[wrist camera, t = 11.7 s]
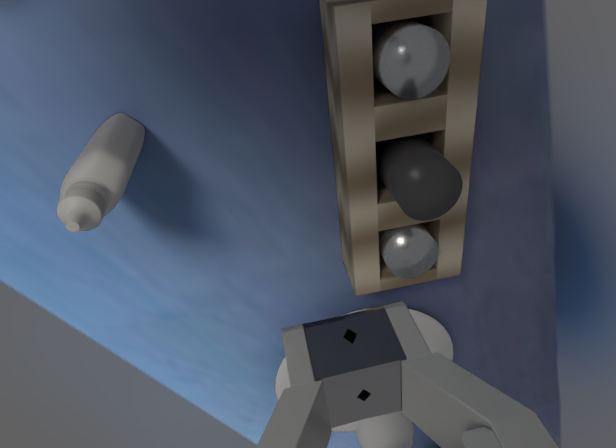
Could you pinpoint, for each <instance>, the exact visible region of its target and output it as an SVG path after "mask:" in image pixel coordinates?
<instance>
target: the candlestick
mask: <svg viewBox="0 0 616 448" xmlns="http://www.w3.org/2000/svg"><path fill="white" fill-rule="evenodd" d="M368 309H371V308H368ZM363 310H367V309H363ZM408 310H409V312H410V314H411V316H412V317H413V319H414V321H415V323H416V325H417V327H418V329H419V331H420V333H421V335H422V337H423V338H424V340H425V342H426V344H427V346H428V348H429V350H430V352H431V354H432V353H437V352H438V353H439V354H441V355H443V356H444V357H446V358H447V359H449V360H451V361H453V344H452V341H451V338H450V336H449V334H448V332H447V331H446V329H445V328H444V327H443V326H442V325H441V324H440V323H439V322H438V321H436V320H435V319H434V318H432V317H430V316H429V315H426V314H424V313H422V312H419V311H416V310H412V309H408ZM358 311H362V310H358ZM358 311H354V312H358ZM354 312H351V313H354ZM347 314H350V313H347ZM344 315H346V314H344ZM275 388H276V395H277V399H278V401H279V399H280V397H281V395H282V393H283V391H284V389H286V388H290V381H289V375H288V369H287V363H286V357H285V358H284V359H283V361H282V363H281V365H280V367H279V370H278V373H277V377H276V384H275ZM331 429H332V432H349V431H356V433H357V438H358V441H359V443H360V445H361V447H362V448H412V445H413V438H414V428H413V423H412V421H411V420H410V419H409V418H407V417H406V416H405V415H404V414H403V413H402V411H399V412H394V413H390V414H385V415H380V416H376V417H371V418H367V419H363V420H359V421H356V422H352V423H348V424H345V425H341V426H338V427H334V428H331Z"/></svg>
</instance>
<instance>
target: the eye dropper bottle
mask: <svg viewBox="0 0 616 448" xmlns="http://www.w3.org/2000/svg"><path fill="white" fill-rule="evenodd" d="M144 137H145V129H144V126H143V125H142V124H140V123H139V122H137V121H136V120H134V119H132V118H131V117H129V116H127V115H126V114H123V113H117V114H115V115H113V116H112V117H110V118H109V119H108V120H106V121H105V122H104V123H103V124H102V125H101V126H100V127H99V128H98V129H97V131H96V132H95V133H94V135H93V136H92V138H91V139H90V141H89V142H88V144H87V145H86V146H85V148H84V149H83V151H82V152H81V154H80V155H79V157H78V158H77V159H76V161H75V162H74V164H73V165H72V167H71V168H70V170H69V171H68V173H67V175H66V177H65V179H64V181H63V183H62V186H61V190H60V199H59V201H60V202H59V204H58V206H57V214H58V217H59V219H60V221H62V223H63V224H65V225H66V229H67V230H68V231H70V232H77V231H89V230H92V229H94V228H95V227H97V226H98V225H99V224H100V223H101V221H102V219H103V217H104V216H105V215H107V214H108V213H109V212H110V211H111V210H112V209H113V208H114V207H115V206H116V205H117V203H118V202H119V200H120V199H121V197H122V195H123V193H124V191H125V189H126V186H127V184H128V181H129V179H130V177H131V174H132V172H133V169H134V167H135V164H136V162H137V159H138V157H139V154H140V152H141V149H142V146H143V143H144Z"/></svg>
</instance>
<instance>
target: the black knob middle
mask: <svg viewBox="0 0 616 448" xmlns="http://www.w3.org/2000/svg"><path fill="white" fill-rule="evenodd" d="M378 174H379V177H380V179H381V180H382V182H383V183H384V185H385V186H386V187H387V189H388V190H389V192H390V193H391V195H392V196H393V197H394V199H395V200H396V202H397V203H398V205H399V206H400V208H401V209H402V210H403V212H404V213H405V214H406V215H407V216H408V217H410V218H412V219H415V220H420V221H427V220H432V219H436V218H438V217H440V216H442V215H444V214H445V213H447V212H448V211H449V210H450V209H451V208H452V207H453V206H454V205H455V204H456V202H457V201H458V199H459V197H460V195H461V192H462V187H463V182H462V177H461V175H460V173H459V171H458V170H457V169H456V168H455V167H454V166H453V165H452V164H451V163H450V162H449V161H448V160H447V159H445V158H444V157H443V156H442V155H441V154H440V153H439V152H438V151H437V150H436V149H435V148H434V147H433V146H431V145H430V144H429V143H428V142H427V141H426V140H425V139H423V138H421V137H418V136H413V135H411V136H406V137H400V138H398V139H396V140H394V141H393V142H391V143H390V144H389V145H388V146H387V147H386V148H385V149H384V150H383V152H382V154H381V155H380V158H379V161H378Z"/></svg>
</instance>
